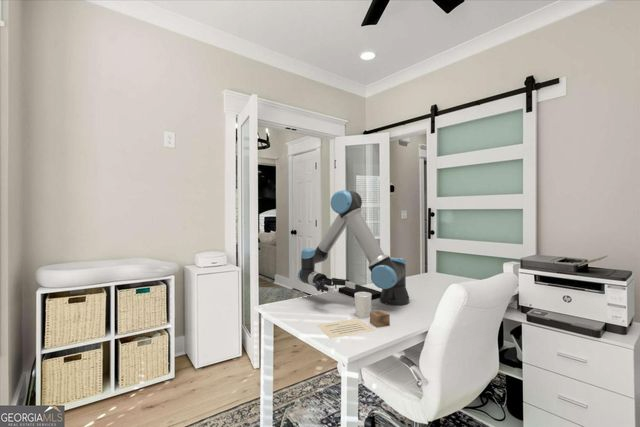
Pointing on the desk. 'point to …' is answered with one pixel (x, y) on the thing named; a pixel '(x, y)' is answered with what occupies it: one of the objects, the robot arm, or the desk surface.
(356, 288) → the external hard drive
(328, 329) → the letter
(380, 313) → the block
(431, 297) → the desk surface
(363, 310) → the white cup
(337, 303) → the desk surface
